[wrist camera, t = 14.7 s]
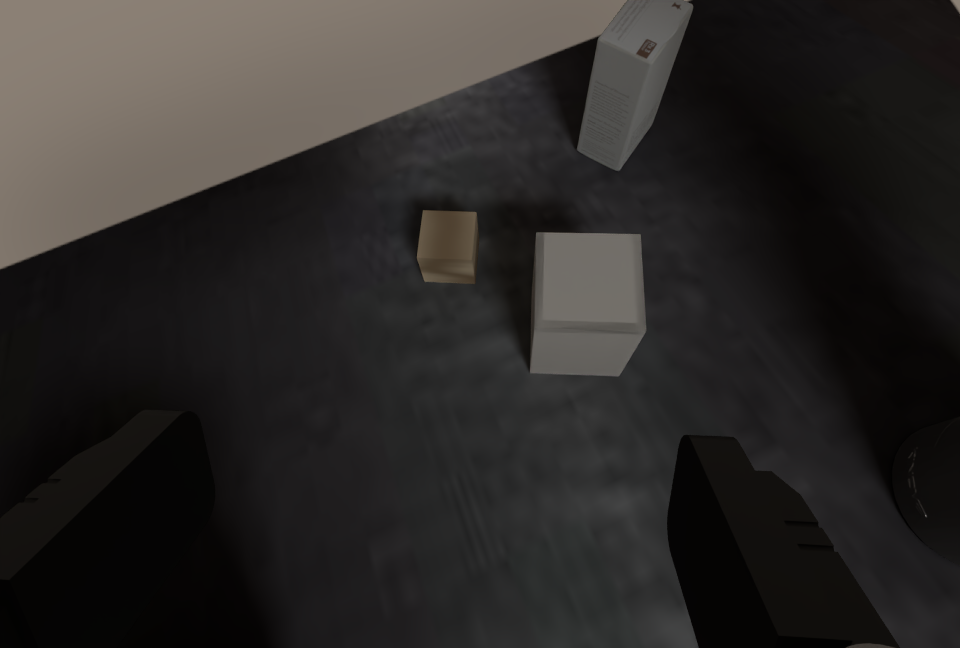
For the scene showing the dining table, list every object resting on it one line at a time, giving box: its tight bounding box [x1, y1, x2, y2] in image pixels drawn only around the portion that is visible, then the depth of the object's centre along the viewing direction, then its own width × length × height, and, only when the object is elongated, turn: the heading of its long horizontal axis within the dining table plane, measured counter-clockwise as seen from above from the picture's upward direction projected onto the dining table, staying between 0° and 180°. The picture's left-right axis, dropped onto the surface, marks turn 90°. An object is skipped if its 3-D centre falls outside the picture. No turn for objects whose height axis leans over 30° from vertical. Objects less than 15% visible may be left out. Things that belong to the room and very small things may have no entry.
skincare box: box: [577, 0, 693, 171], centre depth 43 cm, size 6×4×12 cm
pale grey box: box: [530, 232, 646, 376], centre depth 39 cm, size 6×6×9 cm
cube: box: [417, 210, 479, 284], centre depth 44 cm, size 4×4×4 cm
